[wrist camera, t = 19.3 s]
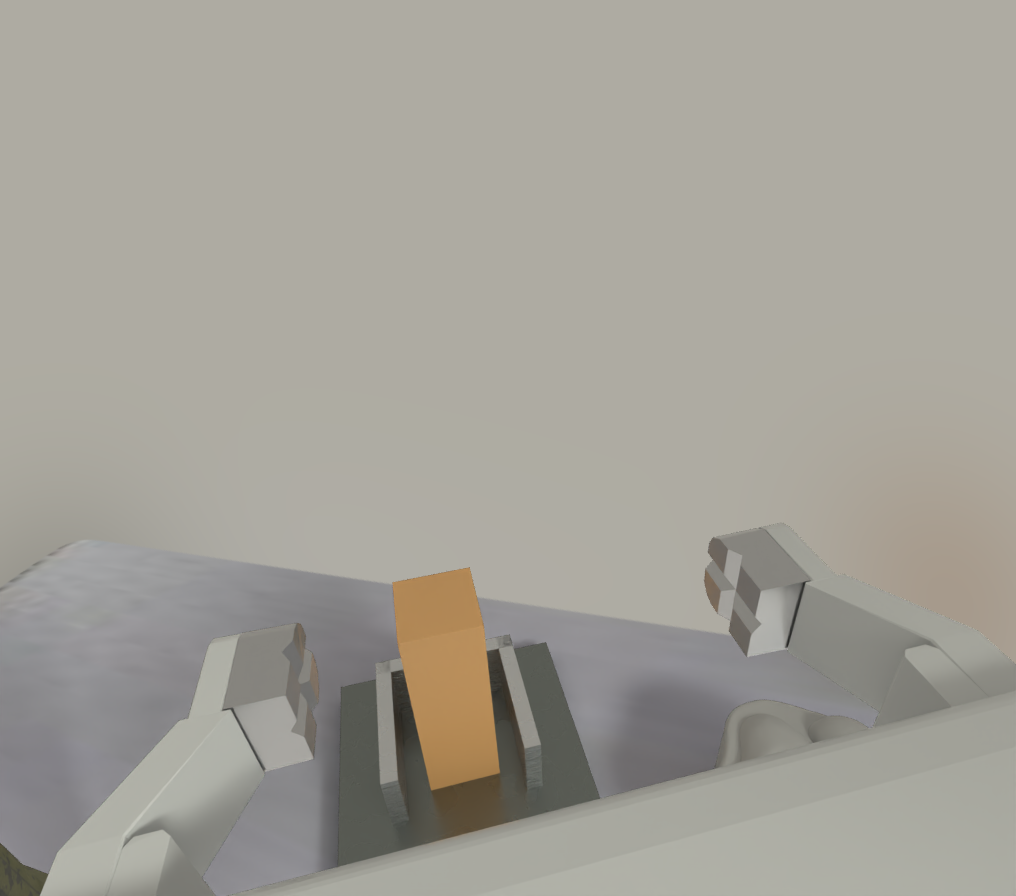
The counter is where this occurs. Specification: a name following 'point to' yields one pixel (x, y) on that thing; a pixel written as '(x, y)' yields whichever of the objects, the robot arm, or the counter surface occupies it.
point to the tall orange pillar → (447, 675)
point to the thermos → (19, 877)
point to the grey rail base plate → (469, 805)
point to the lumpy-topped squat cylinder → (776, 730)
